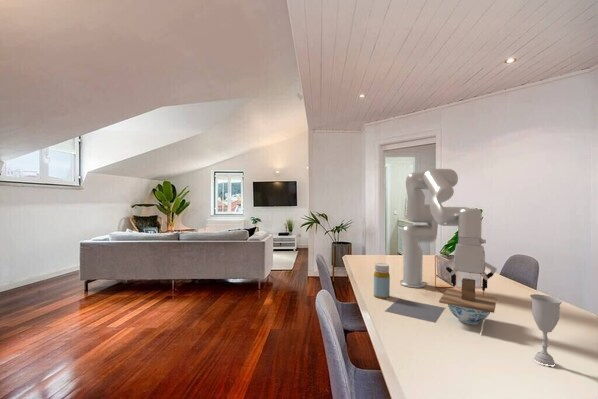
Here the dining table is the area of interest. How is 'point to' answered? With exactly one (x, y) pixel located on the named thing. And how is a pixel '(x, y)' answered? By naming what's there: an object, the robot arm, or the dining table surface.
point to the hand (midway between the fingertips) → (468, 287)
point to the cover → (469, 298)
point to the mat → (416, 310)
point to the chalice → (545, 321)
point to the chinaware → (468, 314)
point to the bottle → (381, 281)
